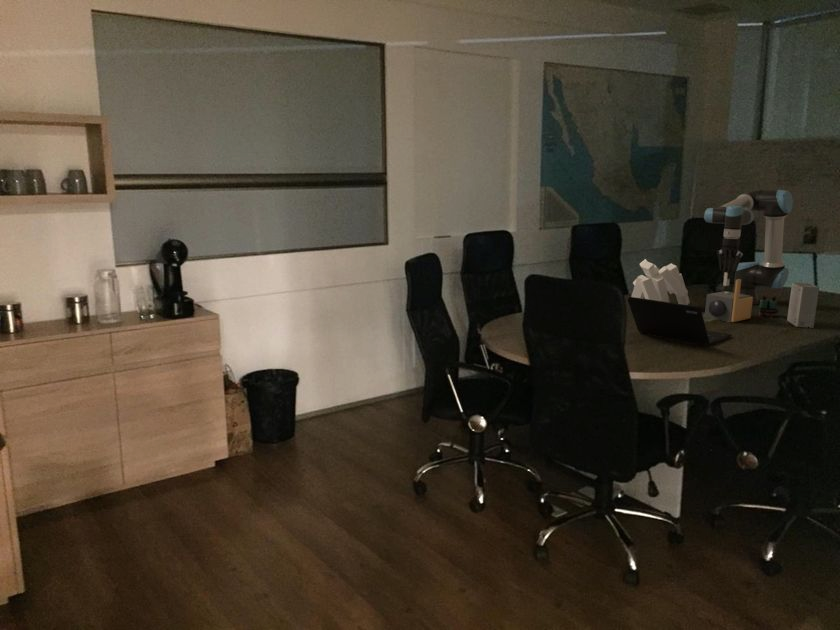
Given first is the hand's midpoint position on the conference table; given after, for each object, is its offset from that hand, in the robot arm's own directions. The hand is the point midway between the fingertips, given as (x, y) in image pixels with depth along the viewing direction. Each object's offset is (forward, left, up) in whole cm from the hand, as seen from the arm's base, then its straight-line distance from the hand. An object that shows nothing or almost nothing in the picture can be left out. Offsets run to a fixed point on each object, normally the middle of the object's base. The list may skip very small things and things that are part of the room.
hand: (726, 285), depth 331 cm
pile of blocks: (+3, -35, -18) cm, 39 cm away
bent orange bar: (-7, +6, -17) cm, 20 cm away
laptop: (+51, +9, -19) cm, 55 cm away
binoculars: (-29, +8, -18) cm, 35 cm away
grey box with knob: (-7, -2, -18) cm, 19 cm away
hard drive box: (-25, +26, -18) cm, 40 cm away
